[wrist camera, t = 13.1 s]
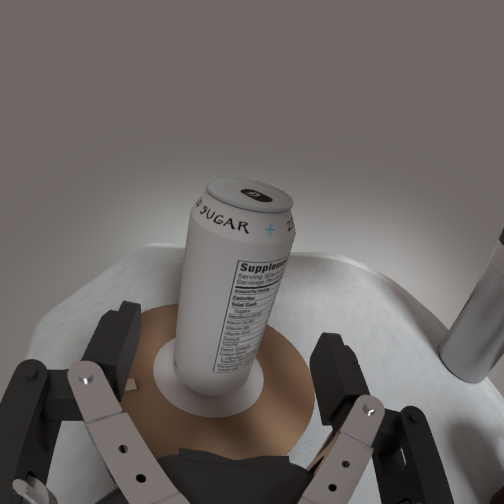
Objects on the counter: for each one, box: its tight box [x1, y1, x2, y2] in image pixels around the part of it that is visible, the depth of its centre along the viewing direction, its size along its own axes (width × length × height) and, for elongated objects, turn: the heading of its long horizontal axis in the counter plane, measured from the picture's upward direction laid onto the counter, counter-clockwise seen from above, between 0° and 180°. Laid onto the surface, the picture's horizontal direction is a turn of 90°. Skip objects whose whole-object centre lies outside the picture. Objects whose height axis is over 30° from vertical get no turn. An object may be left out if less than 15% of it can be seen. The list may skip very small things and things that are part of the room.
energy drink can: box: [173, 177, 296, 397], centre depth 20 cm, size 6×6×15 cm
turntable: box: [118, 304, 315, 460], centre depth 24 cm, size 18×18×2 cm
